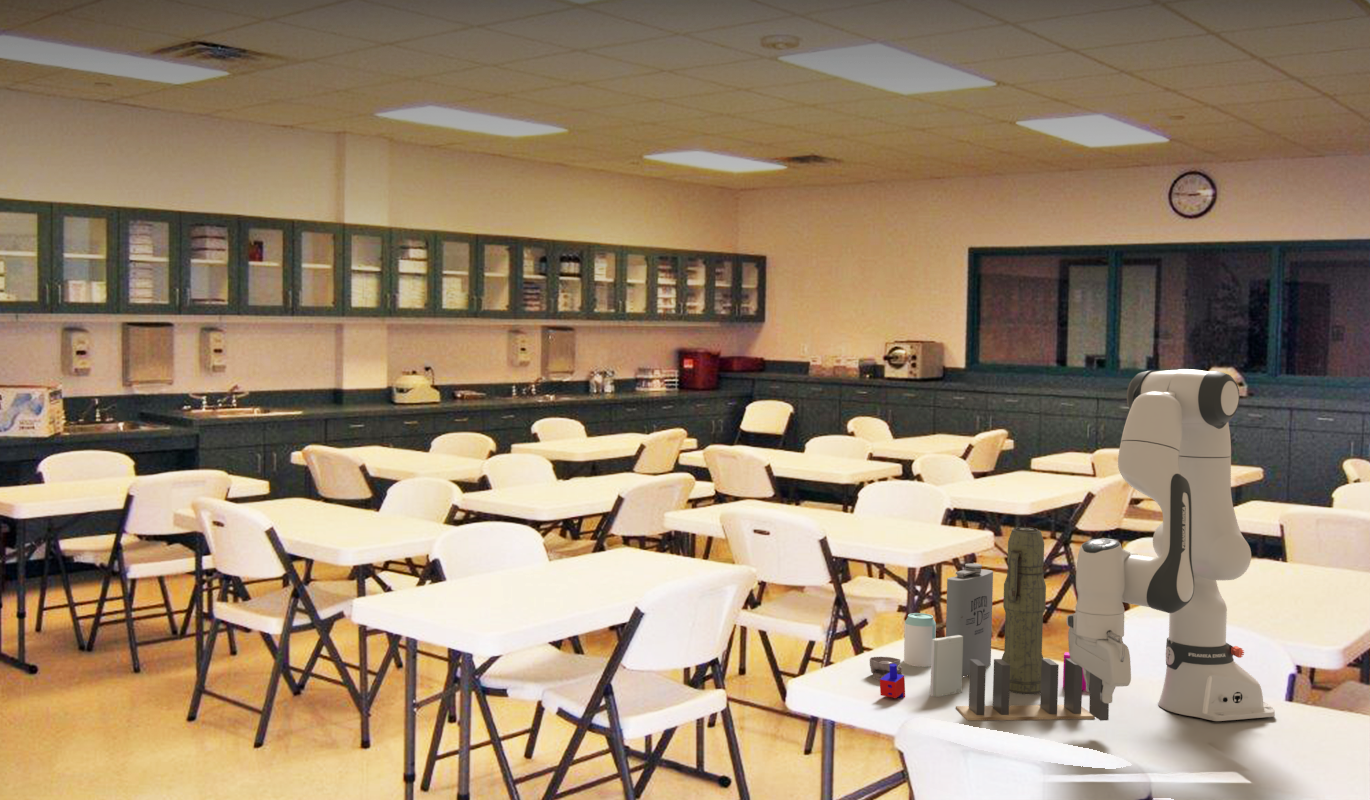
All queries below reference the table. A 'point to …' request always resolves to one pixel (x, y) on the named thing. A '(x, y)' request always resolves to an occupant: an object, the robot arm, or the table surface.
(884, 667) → the dental mold
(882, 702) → the table surface
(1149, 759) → the table surface
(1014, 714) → the oak board
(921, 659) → the can
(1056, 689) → the tile
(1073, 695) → the tile
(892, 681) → the toy building block
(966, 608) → the flask
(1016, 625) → the thermos
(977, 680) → the tile
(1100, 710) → the tile
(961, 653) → the external hard drive
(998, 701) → the tile
